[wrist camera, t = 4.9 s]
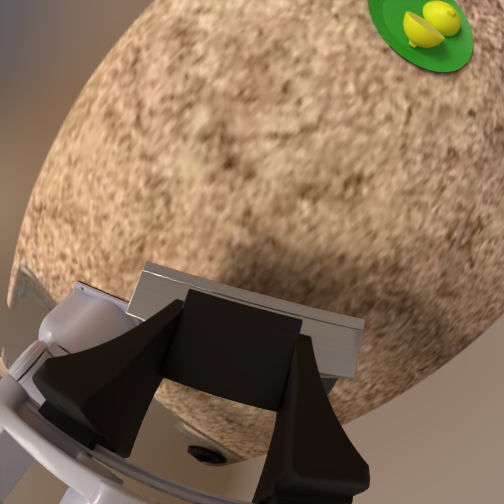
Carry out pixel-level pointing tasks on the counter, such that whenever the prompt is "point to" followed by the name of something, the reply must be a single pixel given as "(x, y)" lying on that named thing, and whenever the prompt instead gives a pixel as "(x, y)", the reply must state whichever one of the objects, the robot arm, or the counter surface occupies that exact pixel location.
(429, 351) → the counter surface
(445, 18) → the green plate with lemons
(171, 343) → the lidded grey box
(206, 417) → the counter surface
